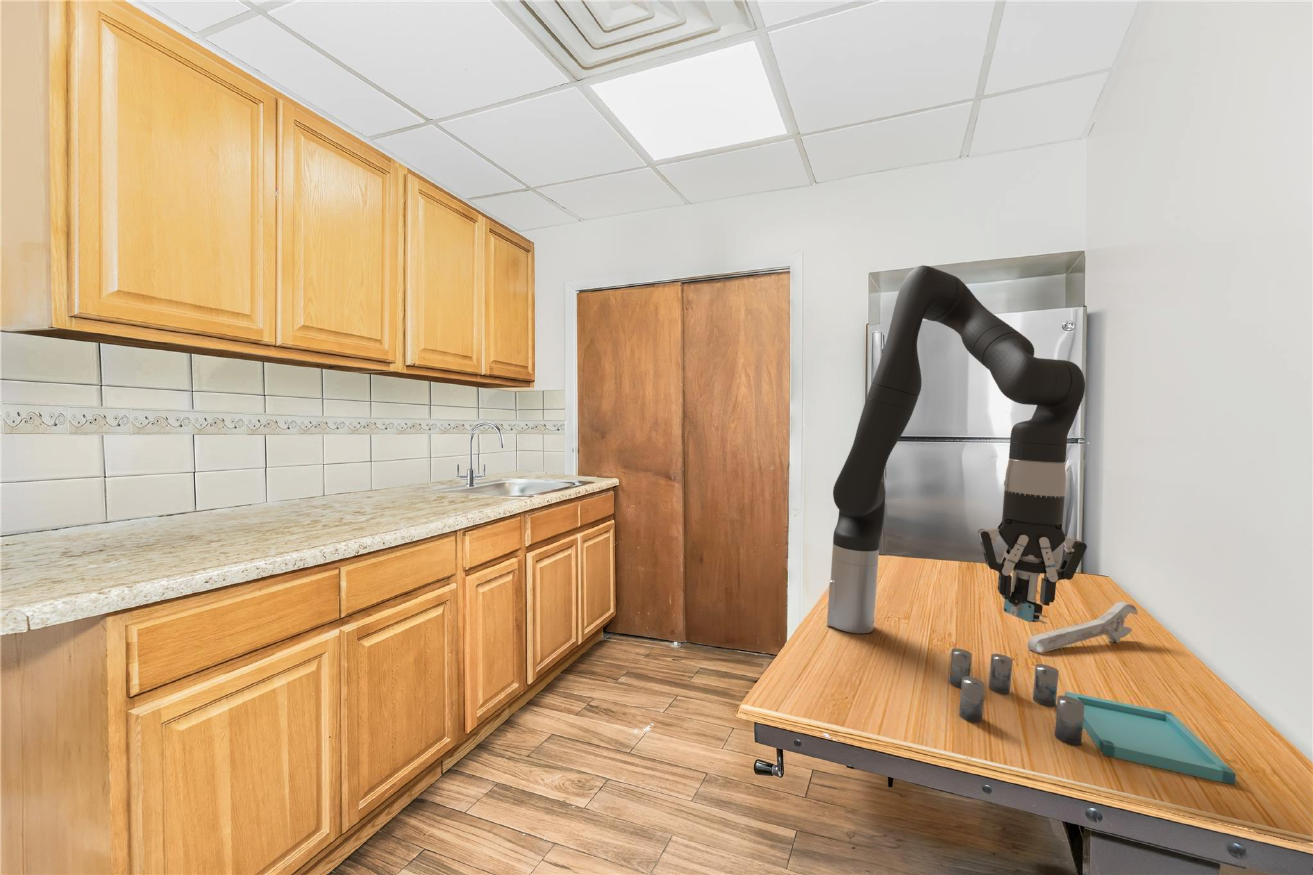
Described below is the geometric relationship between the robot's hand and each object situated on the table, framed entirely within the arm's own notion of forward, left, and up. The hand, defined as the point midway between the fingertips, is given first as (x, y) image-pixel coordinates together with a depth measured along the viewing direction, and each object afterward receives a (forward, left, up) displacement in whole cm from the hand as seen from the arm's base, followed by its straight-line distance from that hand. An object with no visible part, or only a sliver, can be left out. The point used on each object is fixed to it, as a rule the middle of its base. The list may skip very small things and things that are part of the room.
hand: (1025, 600), depth 81 cm
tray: (+15, 0, -17) cm, 23 cm away
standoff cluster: (-1, 0, -17) cm, 17 cm away
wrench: (+20, +38, -18) cm, 46 cm away
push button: (0, 0, -3) cm, 3 cm away
